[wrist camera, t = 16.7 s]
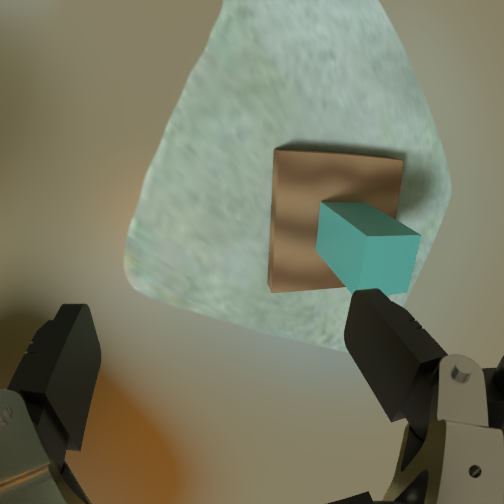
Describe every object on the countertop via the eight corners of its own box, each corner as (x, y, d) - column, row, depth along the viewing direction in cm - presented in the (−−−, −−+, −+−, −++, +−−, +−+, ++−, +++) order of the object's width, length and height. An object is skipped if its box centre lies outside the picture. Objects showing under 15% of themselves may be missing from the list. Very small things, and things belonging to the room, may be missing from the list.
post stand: (273, 149, 35) (309, 163, 24) (392, 157, 37) (454, 177, 27) (267, 283, 42) (292, 341, 31) (374, 275, 44) (420, 320, 33)
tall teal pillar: (320, 201, 35) (367, 236, 25) (366, 202, 36) (420, 235, 26) (315, 250, 38) (355, 298, 28) (359, 248, 39) (407, 292, 29)
